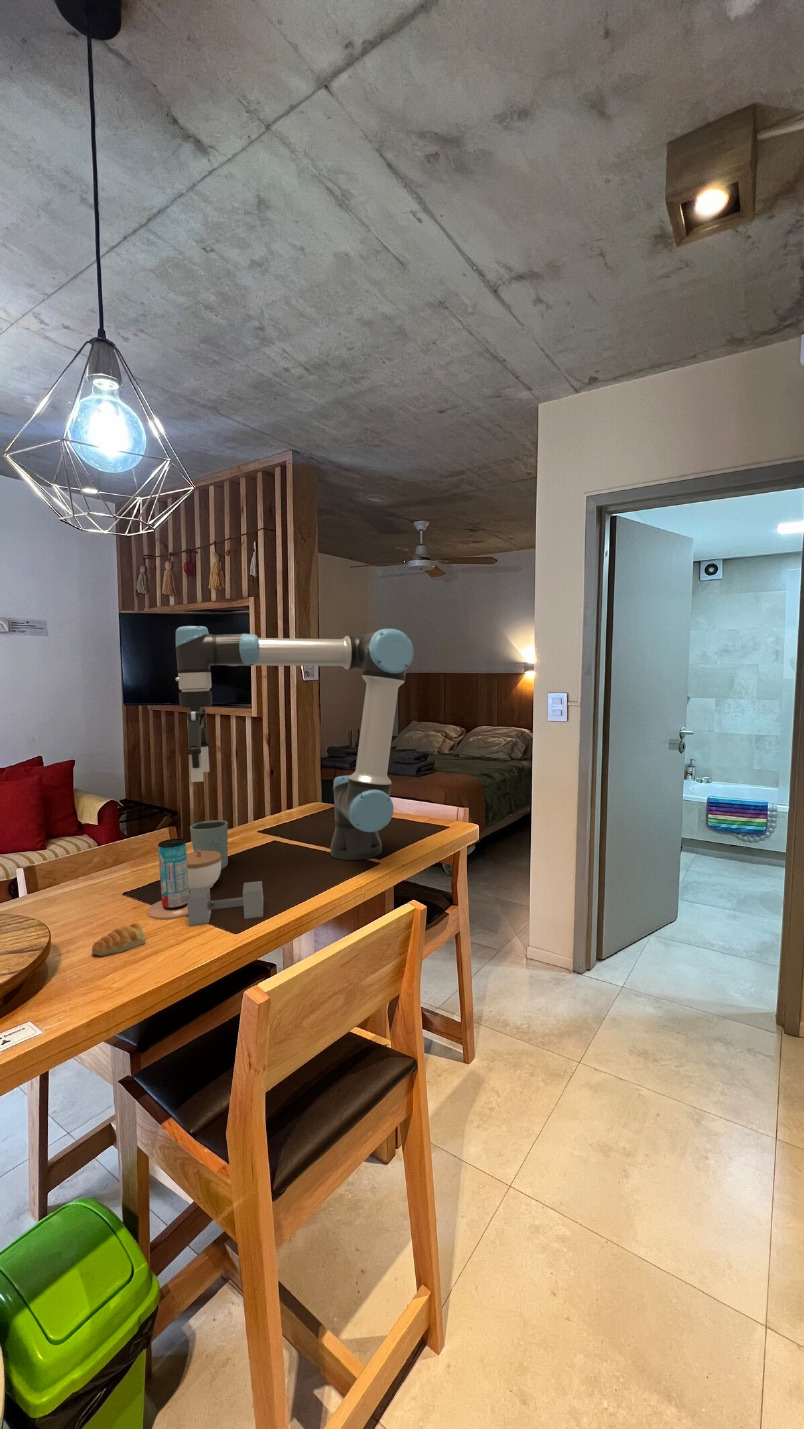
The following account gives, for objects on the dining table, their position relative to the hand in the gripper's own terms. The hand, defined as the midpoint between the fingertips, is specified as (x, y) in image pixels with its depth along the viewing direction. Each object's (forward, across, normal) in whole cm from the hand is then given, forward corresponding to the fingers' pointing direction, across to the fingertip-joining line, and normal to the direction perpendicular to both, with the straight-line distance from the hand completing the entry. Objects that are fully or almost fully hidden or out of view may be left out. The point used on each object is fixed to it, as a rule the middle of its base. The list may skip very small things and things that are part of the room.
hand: (200, 776), depth 145 cm
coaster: (+29, +10, -6) cm, 31 cm away
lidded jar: (+29, -3, -2) cm, 29 cm away
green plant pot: (+29, -19, -1) cm, 35 cm away
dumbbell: (+29, +16, +6) cm, 34 cm away
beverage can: (+28, +10, -6) cm, 30 cm away
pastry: (+29, +27, -14) cm, 42 cm away
